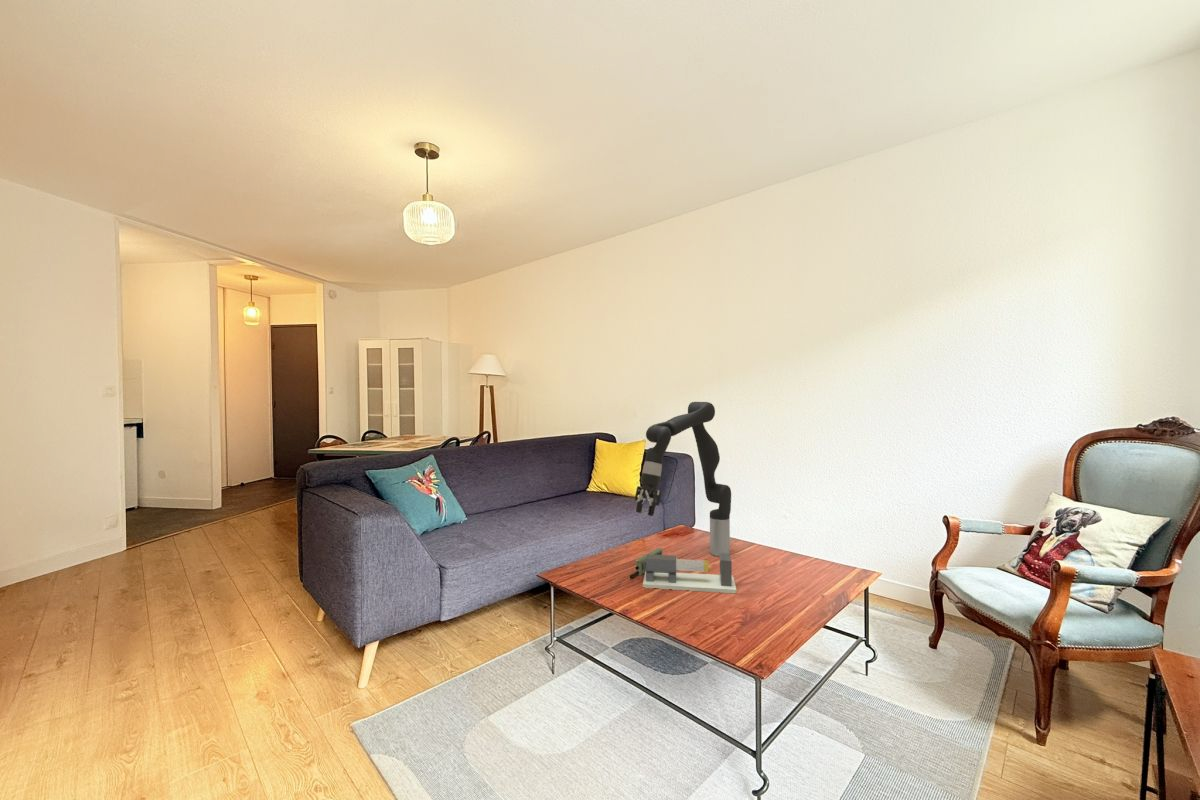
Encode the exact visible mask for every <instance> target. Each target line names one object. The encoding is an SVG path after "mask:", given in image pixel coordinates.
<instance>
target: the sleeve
mask: <svg viewBox="0 0 1200 800" xmlns="http://www.w3.org/2000/svg"><path fill="white" fill-rule="evenodd" d="M646 554H647V556H646V581H649V582H653V581H654V575H655V572H656V573H668V583H676V573H677V570H676V559H677V555H668V554H662V555H653V554H648V553H646Z"/></svg>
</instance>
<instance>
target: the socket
mask: <svg viewBox="0 0 1200 800" xmlns="http://www.w3.org/2000/svg"><path fill="white" fill-rule="evenodd" d="M732 566H733V565H732V557H731V553H730V554H721V553H720V556H719V575H720V582H721V586H732V576H733V575H732V571H733V570H732V569H733V568H732Z"/></svg>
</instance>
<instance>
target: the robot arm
mask: <svg viewBox="0 0 1200 800" xmlns="http://www.w3.org/2000/svg"><path fill="white" fill-rule="evenodd" d="M715 415H716V408H715V406H714V405H713V403H712V402H708V401H692V402H690V403H689V404H688V406H687V413H684V414H681V415H680V414H679V415H676V416H674V417H672V418H670V419H667V420H666V421H662V422H659V423H655V424H652V425H650V426H649V427H648V428H647V430H646V432H645V437H646V439H647V441H649V442H650V443H655V444H654V446H652V447H649V448H647V450H646V455H645V459H644V464H643V468H642V471H641V477H640V484H641V485H642V486H636V491H635V495H634V501H635V502H636V508H635V512H636V513H639V514H641V513H642V509H643V505H644V502H645V501H646V500H647V501H648V504H649V506H648V511H647V516H650V517H653V516H654V513H655V509H656V507H657V506H660V502H661V501H660V500H661V493H662V490H659V489H657V488H658V487H660V482H661V475H662V471H663V470H662V469H663V461H664V455H665V453H666V451H667V449H668V446H669V445H670V442H671V439H672V437H675V436H676V435H678V434H680V433H682V432H684V431H686V430H687V429H690V428H692V432H693V435H694V440H695V443H696V447H697V453H698V457H699V462H700V464H701V470H702V475H703V483H704V492H705V497H706V499H707V501H708V502H710V503H714V504H718V508H717V509H716V508H715V509H712V510H710V511H709V553H710V555H712V556H715V557H720V553H721V554H730V555H731V547H730V546H731V542H730V541H731V537H730V536H731V531H730V527H731V526H730V519H731V518H730V517H731V509H732V489H731V487H730V486H729V485H727V484H722V483H717V481H716V478H715V473H716V470H717V468H718V466H719V464H720V452H719V446H718V444H717V443H716V441H715V439H714V438H713V437H712V436H711V435H710V434H709V432H708V431H707V429H706V427H705V425H704V423H708V422H711V421H712V420H713V419H714V417H715Z"/></svg>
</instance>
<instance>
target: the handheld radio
mask: <svg viewBox="0 0 1200 800" xmlns="http://www.w3.org/2000/svg"><path fill="white" fill-rule="evenodd" d="M647 554H653V555H663V548H662V547H657V548H655V549H654V550H652V551H649V552H648V553H646V554H644V555H642V556H640V557H638V558H636V559H635V572H633V573H631V574H629V576H628V577H629V579H633V578H635V577H636V576H639V575H640V576H642V575H643V574H644V575H645V572H646V556H647Z"/></svg>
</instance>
